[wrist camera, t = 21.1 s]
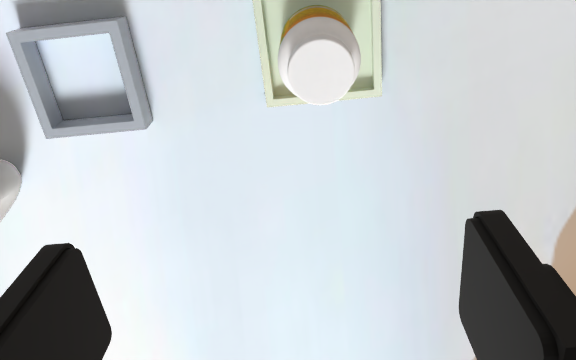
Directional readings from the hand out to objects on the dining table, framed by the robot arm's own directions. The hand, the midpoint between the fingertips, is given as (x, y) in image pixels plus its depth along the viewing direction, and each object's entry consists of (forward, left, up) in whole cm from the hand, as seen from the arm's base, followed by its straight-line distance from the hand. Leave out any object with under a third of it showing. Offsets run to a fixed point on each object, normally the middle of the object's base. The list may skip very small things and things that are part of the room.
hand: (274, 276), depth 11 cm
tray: (0, +2, -28) cm, 28 cm away
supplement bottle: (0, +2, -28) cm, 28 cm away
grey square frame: (+1, -17, -28) cm, 33 cm away
